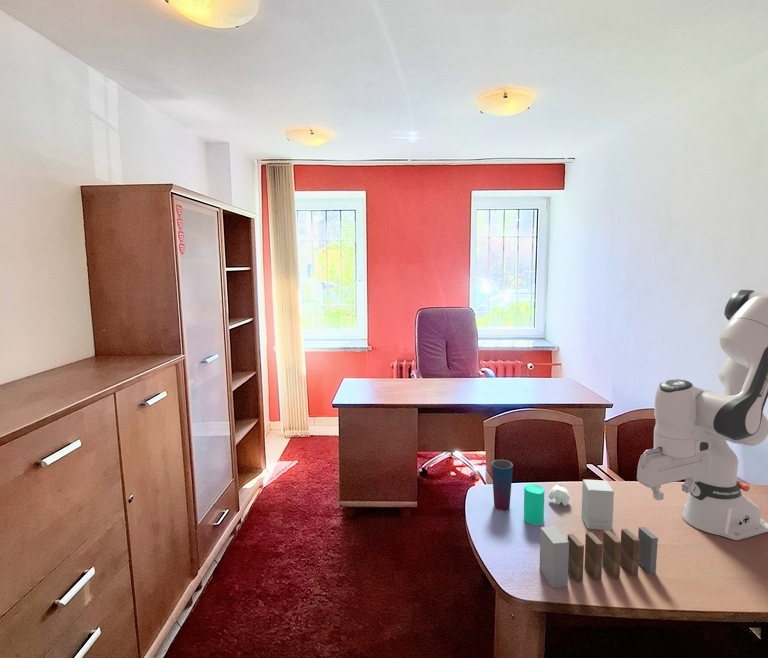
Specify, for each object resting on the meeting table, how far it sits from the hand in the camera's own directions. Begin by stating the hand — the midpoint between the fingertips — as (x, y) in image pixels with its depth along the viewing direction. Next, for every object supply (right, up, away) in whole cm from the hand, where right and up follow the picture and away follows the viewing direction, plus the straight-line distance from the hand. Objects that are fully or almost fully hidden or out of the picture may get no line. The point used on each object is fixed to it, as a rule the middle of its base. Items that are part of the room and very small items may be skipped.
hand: (672, 495), depth 115 cm
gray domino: (-5, -20, +3) cm, 21 cm away
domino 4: (-10, -20, +2) cm, 23 cm away
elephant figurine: (-15, -16, +35) cm, 42 cm away
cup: (-35, -17, +34) cm, 52 cm away
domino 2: (-20, -21, +1) cm, 29 cm away
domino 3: (-15, -21, +2) cm, 26 cm away
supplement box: (-9, -18, +23) cm, 30 cm away
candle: (-27, -18, +26) cm, 42 cm away
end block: (-31, -21, 0) cm, 37 cm away
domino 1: (-25, -21, 0) cm, 33 cm away
